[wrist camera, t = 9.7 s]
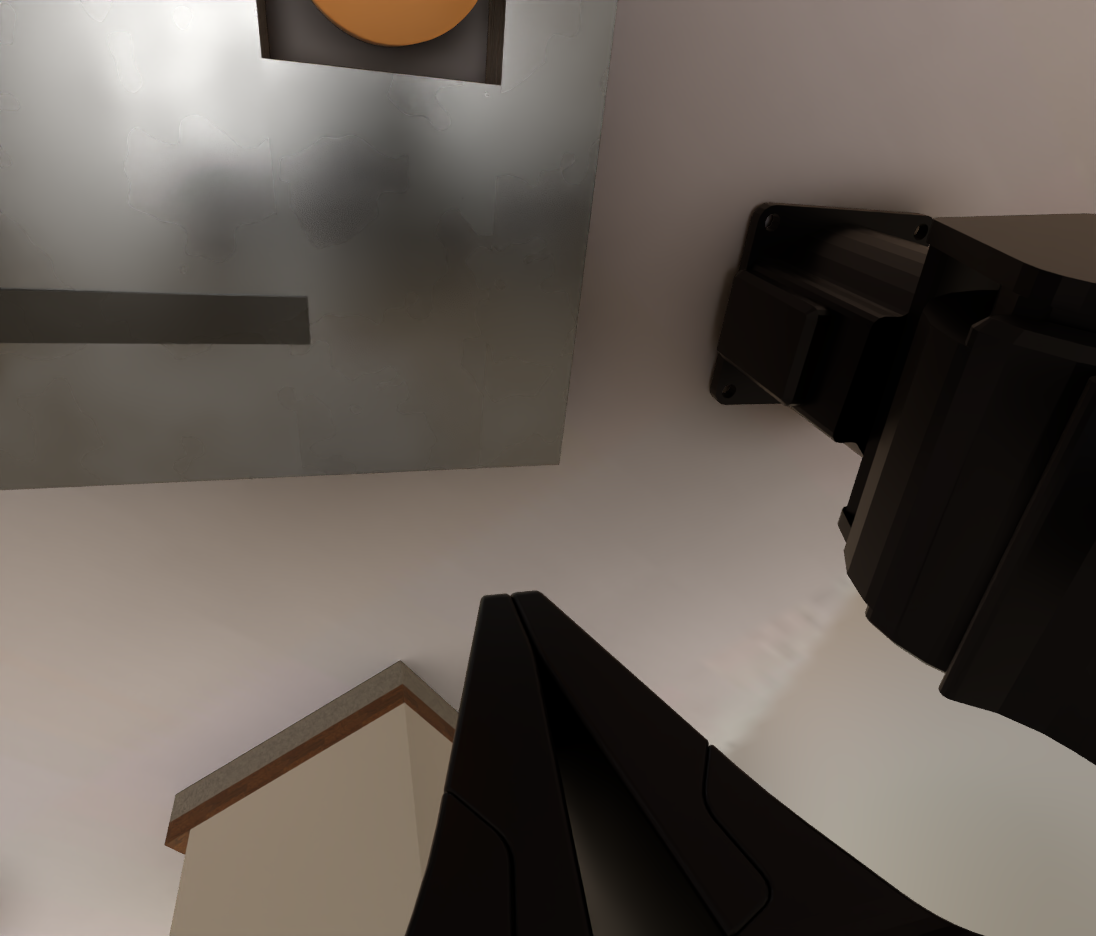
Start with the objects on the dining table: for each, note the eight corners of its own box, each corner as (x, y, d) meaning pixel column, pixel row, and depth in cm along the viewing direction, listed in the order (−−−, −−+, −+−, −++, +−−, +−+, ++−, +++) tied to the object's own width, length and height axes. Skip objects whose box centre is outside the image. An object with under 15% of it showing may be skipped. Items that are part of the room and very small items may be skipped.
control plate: (622, -292, 14) (663, -342, 12) (542, 434, 22) (559, 466, 20) (-1129, -795, 8) (-1553, -1041, 6) (-322, 462, 16) (-402, 510, 14)
